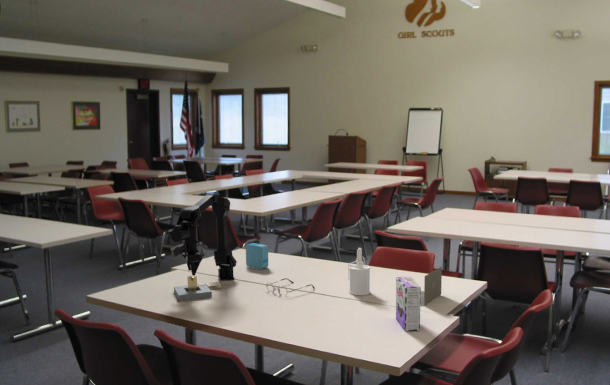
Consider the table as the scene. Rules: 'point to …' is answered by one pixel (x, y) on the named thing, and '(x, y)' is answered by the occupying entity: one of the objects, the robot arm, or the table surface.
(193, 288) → the brass peg
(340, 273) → the table surface
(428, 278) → the laptop
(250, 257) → the data package
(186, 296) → the hole plate
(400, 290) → the candy box
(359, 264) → the white squeeze bottle
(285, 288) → the eyeglasses
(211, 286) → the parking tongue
